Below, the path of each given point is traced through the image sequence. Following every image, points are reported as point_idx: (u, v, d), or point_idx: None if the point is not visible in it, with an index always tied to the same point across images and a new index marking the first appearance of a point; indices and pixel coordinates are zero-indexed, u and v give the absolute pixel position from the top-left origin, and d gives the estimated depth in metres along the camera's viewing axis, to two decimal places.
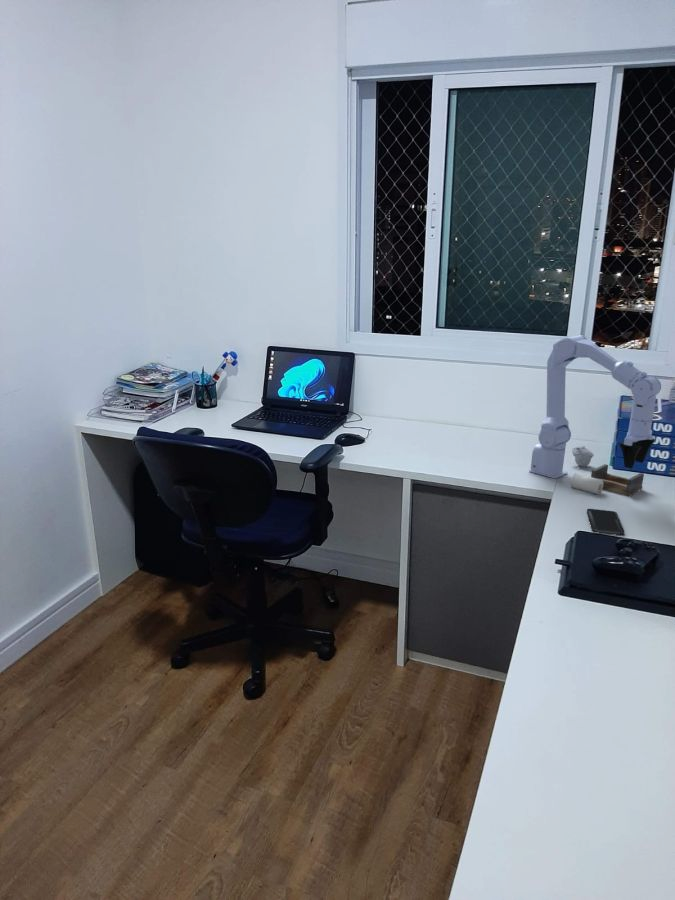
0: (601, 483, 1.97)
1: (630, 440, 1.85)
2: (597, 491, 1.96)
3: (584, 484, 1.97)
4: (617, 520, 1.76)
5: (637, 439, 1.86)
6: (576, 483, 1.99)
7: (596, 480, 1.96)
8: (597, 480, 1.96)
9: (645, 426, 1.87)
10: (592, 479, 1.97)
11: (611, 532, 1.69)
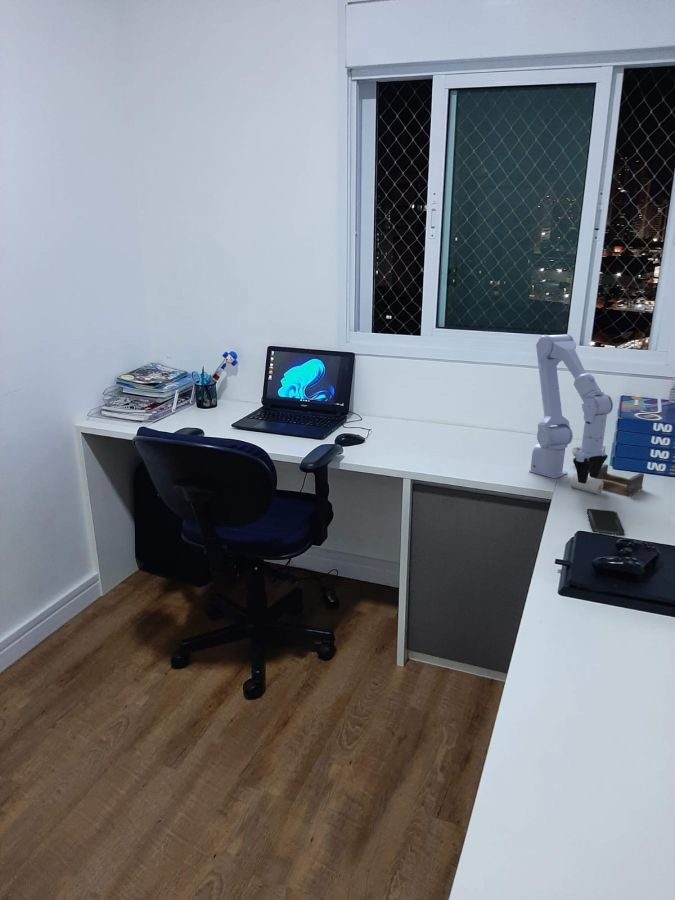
0: (601, 483, 1.97)
1: (582, 456, 1.91)
2: (597, 491, 1.96)
3: (584, 484, 1.97)
4: (617, 520, 1.76)
5: (589, 455, 1.92)
6: (576, 483, 1.99)
7: (596, 480, 1.96)
8: (597, 480, 1.96)
9: (597, 443, 1.92)
10: (592, 479, 1.97)
11: (611, 532, 1.69)
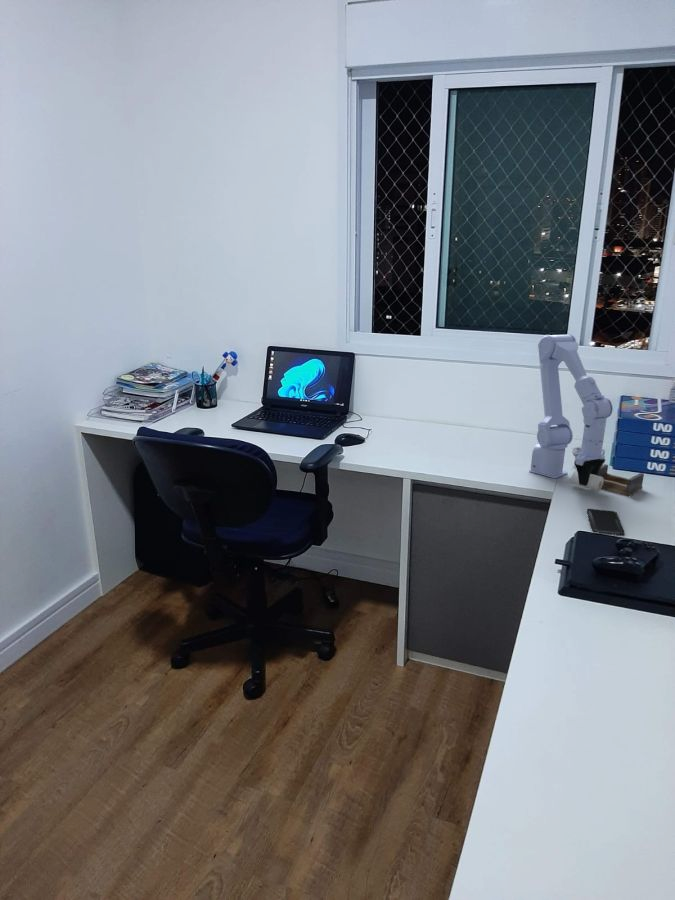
0: (601, 480, 1.96)
1: (581, 460, 1.91)
2: (597, 488, 1.96)
3: None
4: (617, 520, 1.76)
5: (588, 459, 1.92)
6: (576, 480, 1.99)
7: (597, 477, 1.96)
8: (597, 477, 1.96)
9: (596, 446, 1.93)
10: (592, 476, 1.97)
11: (611, 532, 1.69)
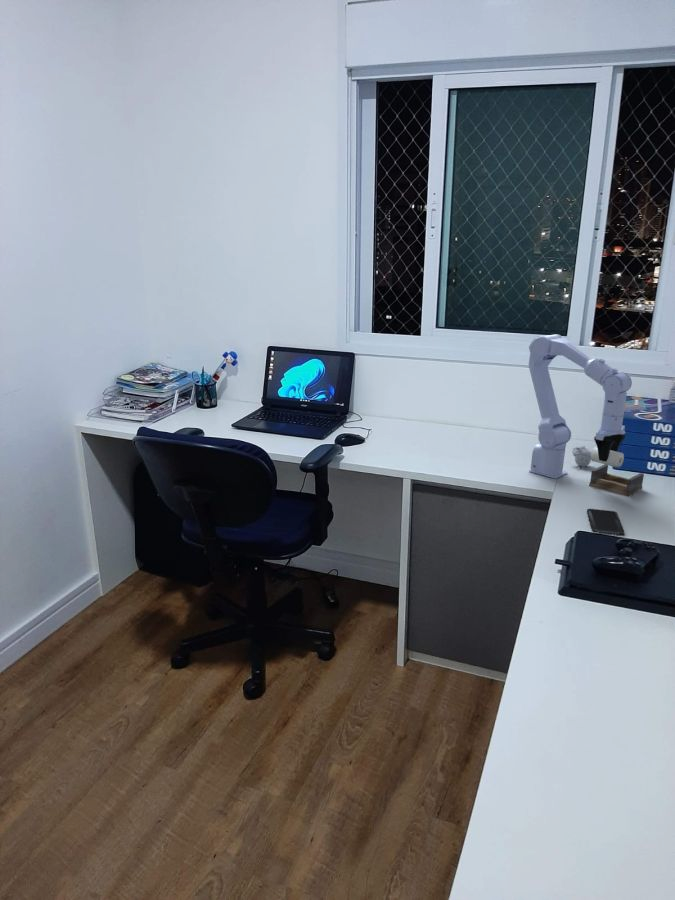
0: (622, 456, 1.96)
1: (601, 435, 1.90)
2: (618, 464, 1.95)
3: None
4: (617, 520, 1.76)
5: (608, 434, 1.92)
6: (596, 456, 1.98)
7: (617, 453, 1.95)
8: (618, 453, 1.95)
9: (616, 421, 1.92)
10: (613, 452, 1.96)
11: (611, 532, 1.69)
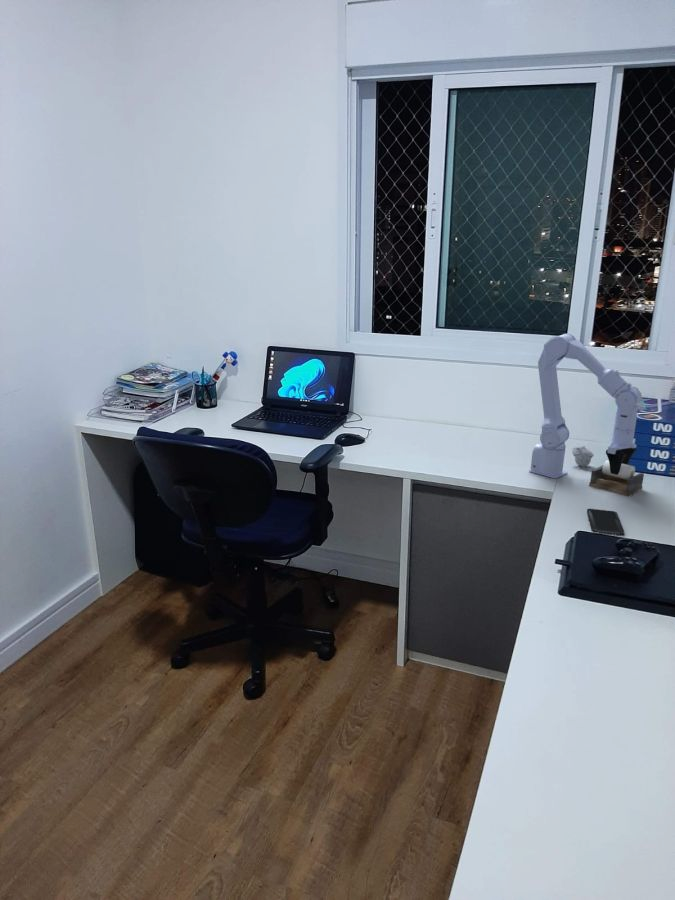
0: (633, 469, 1.98)
1: (613, 449, 1.93)
2: (629, 477, 1.97)
3: None
4: (617, 520, 1.76)
5: (620, 448, 1.94)
6: (608, 469, 2.01)
7: (629, 466, 1.97)
8: (629, 466, 1.97)
9: (628, 435, 1.95)
10: (624, 465, 1.98)
11: (611, 532, 1.69)
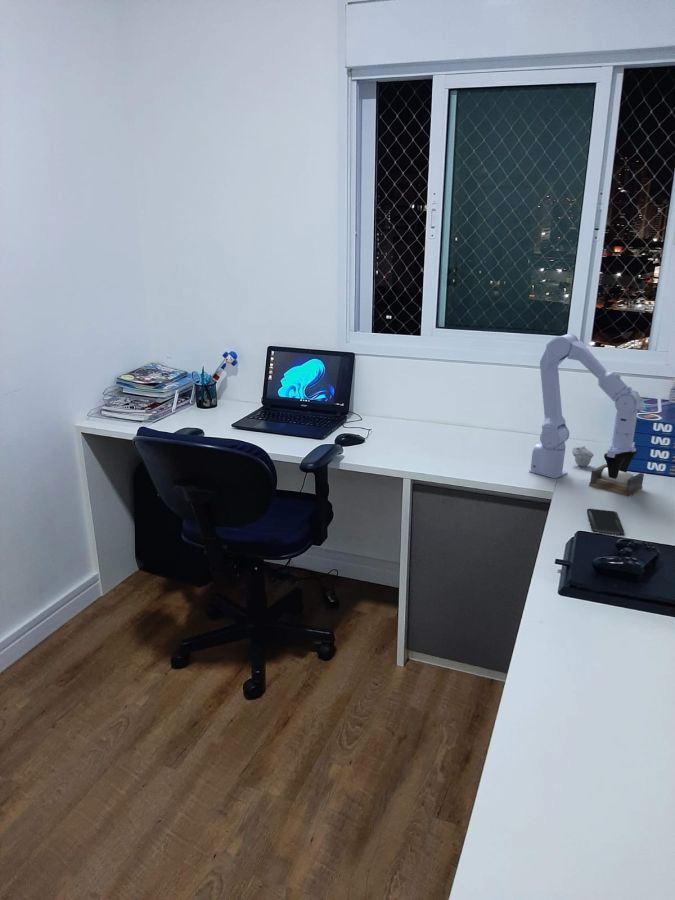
0: None
1: (613, 452, 1.93)
2: None
3: None
4: (617, 520, 1.76)
5: (619, 451, 1.94)
6: (606, 477, 2.01)
7: (627, 474, 1.98)
8: (628, 474, 1.98)
9: (627, 439, 1.95)
10: (623, 473, 1.99)
11: (611, 532, 1.69)
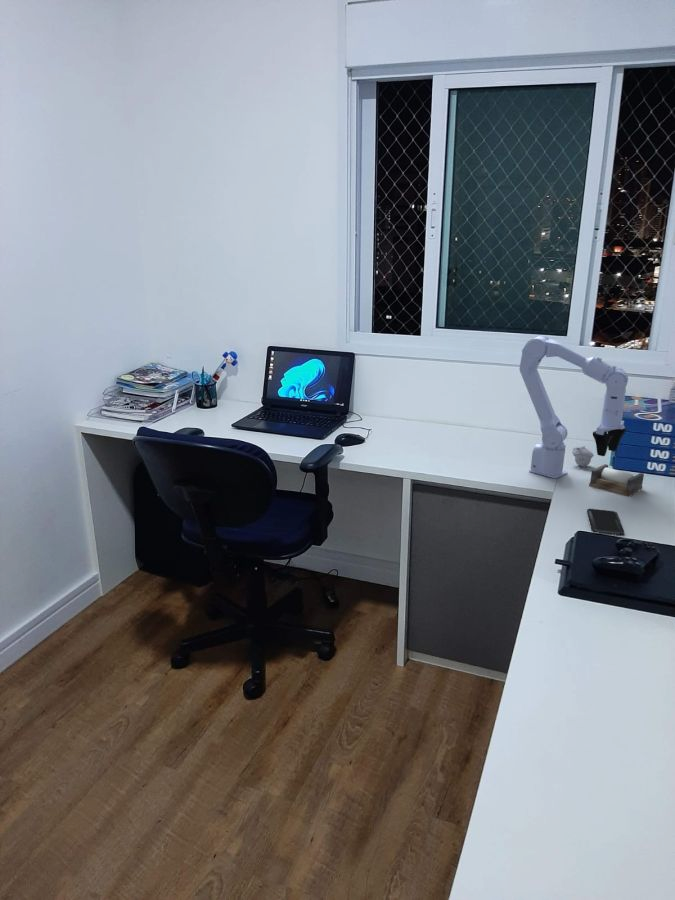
0: None
1: (602, 429, 1.96)
2: None
3: (615, 478, 2.00)
4: (617, 520, 1.76)
5: (608, 428, 1.98)
6: (606, 477, 2.01)
7: (627, 474, 1.98)
8: (628, 474, 1.98)
9: (616, 416, 1.98)
10: (623, 473, 1.99)
11: (611, 532, 1.69)
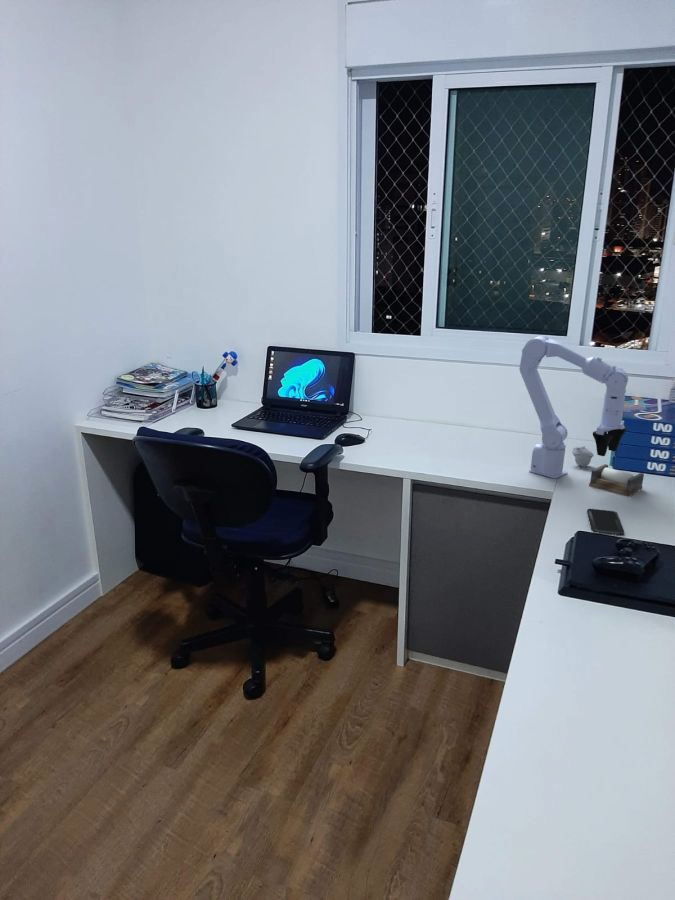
0: None
1: (602, 429, 1.96)
2: None
3: (615, 478, 2.00)
4: (617, 520, 1.76)
5: (608, 428, 1.98)
6: (606, 477, 2.01)
7: (627, 474, 1.98)
8: (628, 474, 1.98)
9: (616, 416, 1.98)
10: (623, 473, 1.99)
11: (611, 532, 1.69)
